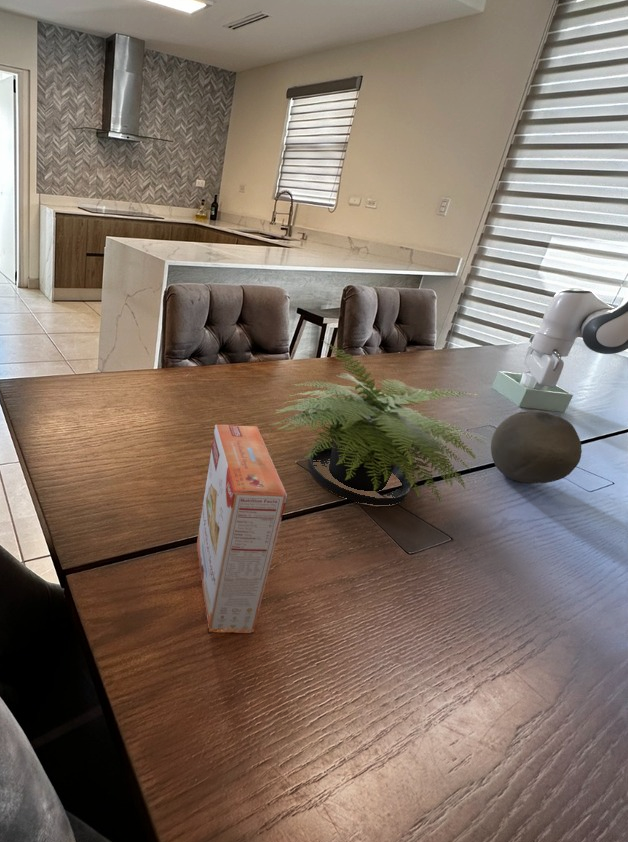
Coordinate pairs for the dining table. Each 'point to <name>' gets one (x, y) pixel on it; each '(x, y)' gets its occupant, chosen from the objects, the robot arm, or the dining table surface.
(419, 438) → the fern plant
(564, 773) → the dining table surface
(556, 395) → the dish tub
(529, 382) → the white short cylinder
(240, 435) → the cracker box
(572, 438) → the dark brown rounded lump
